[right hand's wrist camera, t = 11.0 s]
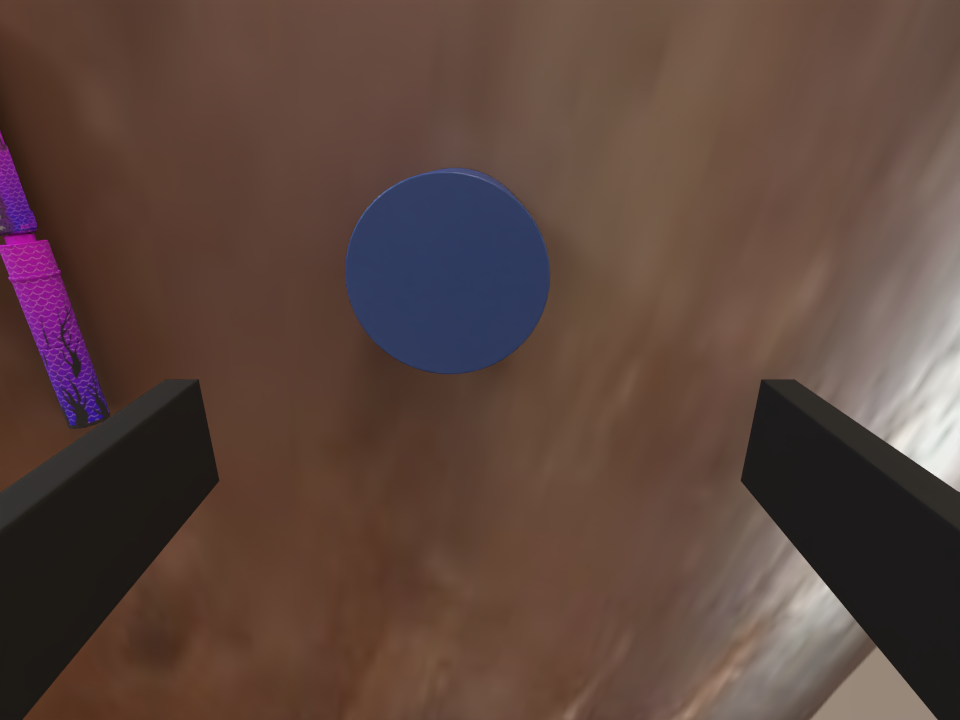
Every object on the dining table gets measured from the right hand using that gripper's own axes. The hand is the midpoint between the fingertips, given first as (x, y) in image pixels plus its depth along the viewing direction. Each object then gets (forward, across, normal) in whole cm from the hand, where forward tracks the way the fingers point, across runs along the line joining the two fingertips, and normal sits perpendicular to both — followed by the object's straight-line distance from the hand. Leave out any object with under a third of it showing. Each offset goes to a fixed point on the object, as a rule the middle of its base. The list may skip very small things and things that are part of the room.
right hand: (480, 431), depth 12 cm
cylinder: (+15, +1, -2) cm, 15 cm away
